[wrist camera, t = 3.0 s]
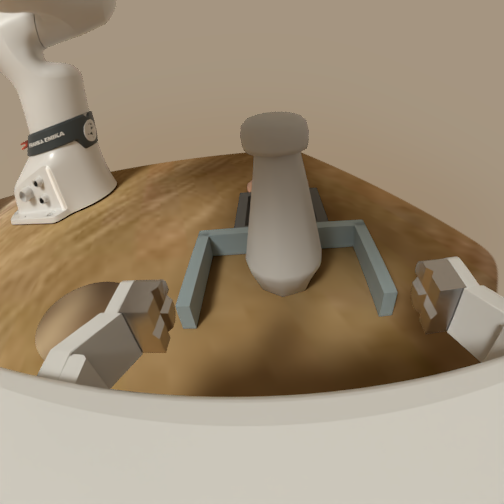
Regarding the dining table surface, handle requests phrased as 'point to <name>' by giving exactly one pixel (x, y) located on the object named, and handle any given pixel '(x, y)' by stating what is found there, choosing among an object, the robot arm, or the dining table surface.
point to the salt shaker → (280, 204)
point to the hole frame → (244, 208)
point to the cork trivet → (72, 314)
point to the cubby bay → (236, 243)
